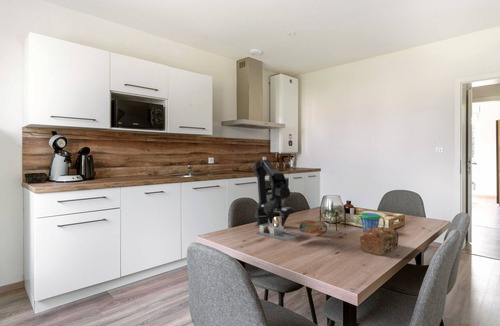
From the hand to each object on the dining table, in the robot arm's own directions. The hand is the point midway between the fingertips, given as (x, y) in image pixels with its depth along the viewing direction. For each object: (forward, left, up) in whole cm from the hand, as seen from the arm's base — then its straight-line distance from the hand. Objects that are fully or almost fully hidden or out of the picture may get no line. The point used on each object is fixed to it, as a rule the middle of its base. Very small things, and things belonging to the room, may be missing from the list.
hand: (276, 224), depth 154 cm
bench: (+1, 0, -6) cm, 7 cm away
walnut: (-4, 0, -5) cm, 6 cm away
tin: (+12, +17, -7) cm, 22 cm away
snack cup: (+31, +46, -7) cm, 56 cm away
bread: (+47, +19, -7) cm, 51 cm away
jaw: (0, 0, -5) cm, 5 cm away
